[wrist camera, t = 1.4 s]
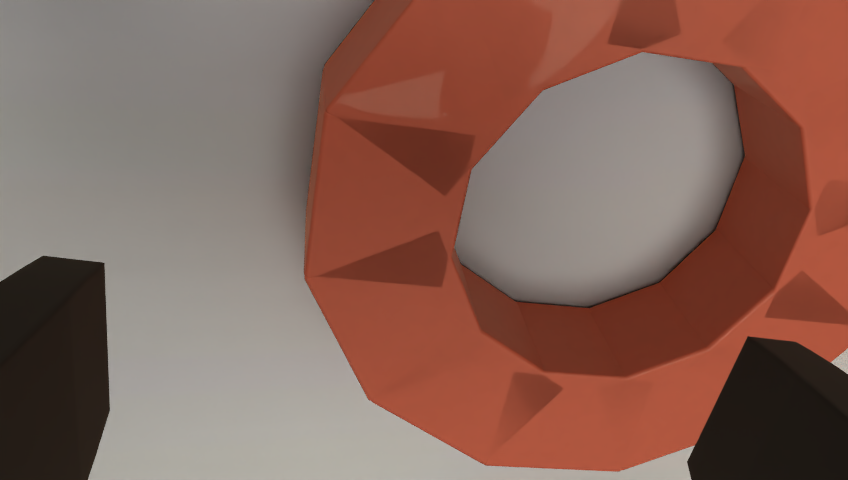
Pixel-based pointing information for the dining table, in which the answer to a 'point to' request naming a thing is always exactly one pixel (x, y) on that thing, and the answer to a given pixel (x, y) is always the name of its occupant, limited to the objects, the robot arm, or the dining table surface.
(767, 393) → the robot arm
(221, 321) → the dining table surface
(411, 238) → the ring
